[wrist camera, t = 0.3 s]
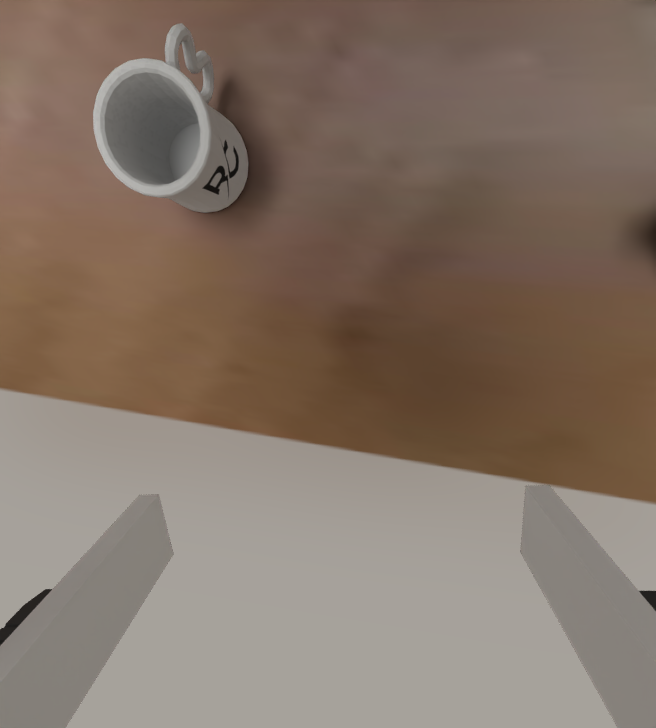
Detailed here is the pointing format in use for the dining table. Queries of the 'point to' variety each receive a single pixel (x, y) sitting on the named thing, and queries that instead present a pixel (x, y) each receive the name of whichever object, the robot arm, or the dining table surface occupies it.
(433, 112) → the dining table surface
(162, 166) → the mug
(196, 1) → the dining table surface
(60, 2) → the dining table surface
